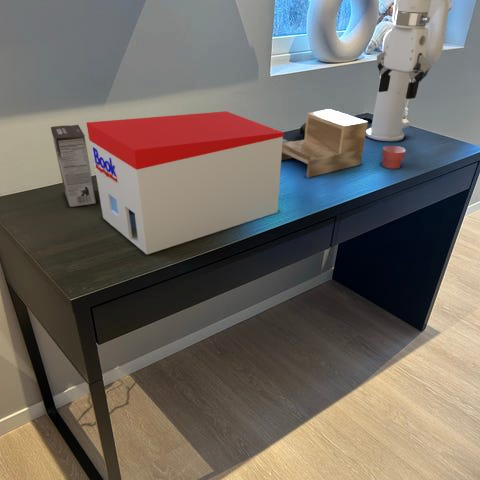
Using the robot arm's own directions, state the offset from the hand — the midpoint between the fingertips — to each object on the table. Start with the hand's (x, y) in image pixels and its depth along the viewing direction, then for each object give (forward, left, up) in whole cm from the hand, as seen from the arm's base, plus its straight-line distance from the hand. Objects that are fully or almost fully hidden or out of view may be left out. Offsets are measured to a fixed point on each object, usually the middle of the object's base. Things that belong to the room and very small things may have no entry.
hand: (396, 94), depth 130 cm
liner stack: (-1, +2, -19) cm, 19 cm away
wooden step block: (+16, -11, -19) cm, 27 cm away
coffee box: (+83, -22, -19) cm, 88 cm away
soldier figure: (+17, -27, -19) cm, 37 cm away
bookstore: (+65, +1, -19) cm, 67 cm away
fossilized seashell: (+1, -31, -19) cm, 36 cm away
